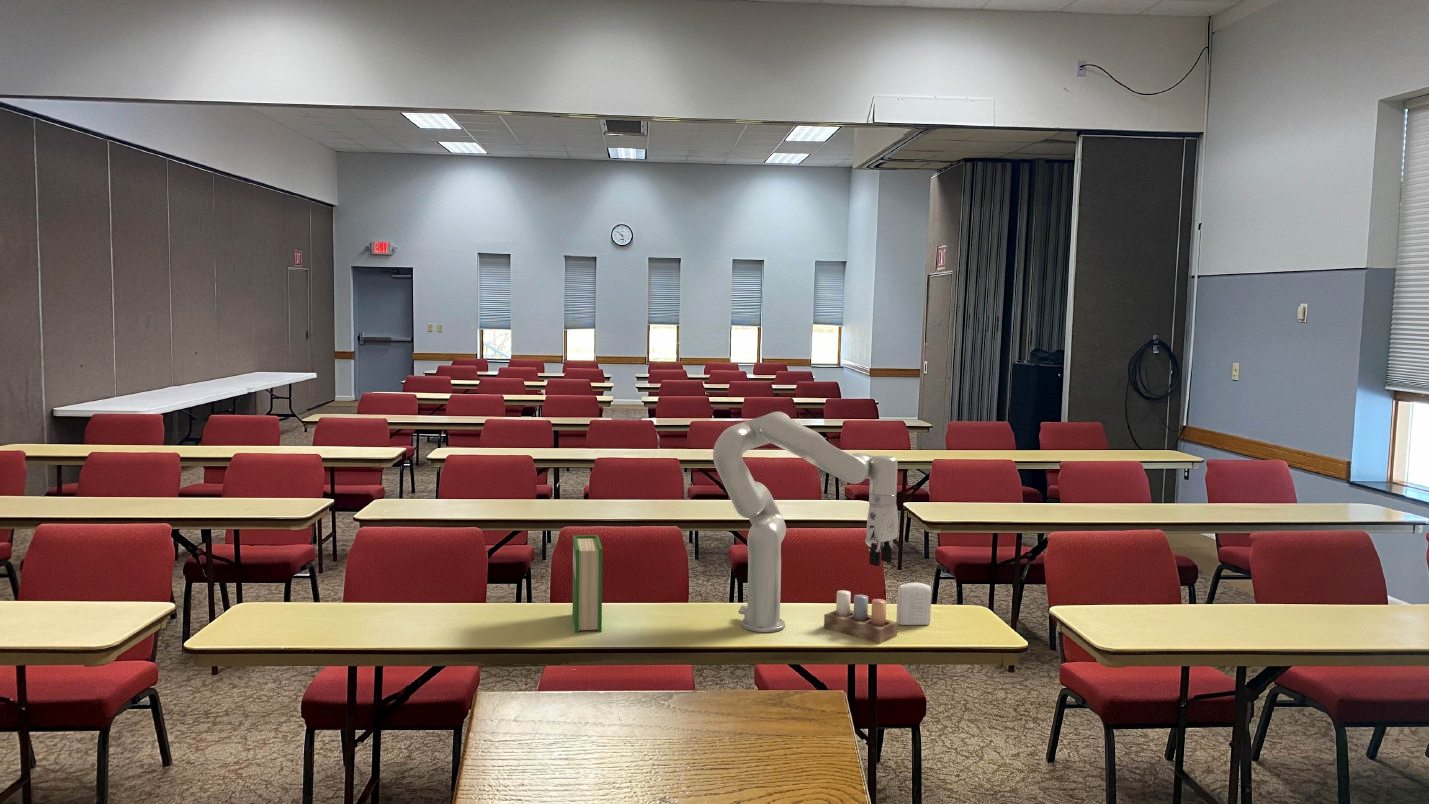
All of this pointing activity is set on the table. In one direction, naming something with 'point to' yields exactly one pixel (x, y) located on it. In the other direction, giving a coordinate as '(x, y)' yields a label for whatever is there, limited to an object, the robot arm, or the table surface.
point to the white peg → (843, 603)
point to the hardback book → (587, 583)
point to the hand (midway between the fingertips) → (880, 562)
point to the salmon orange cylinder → (878, 612)
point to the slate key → (860, 608)
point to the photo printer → (913, 604)
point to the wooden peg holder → (860, 627)
